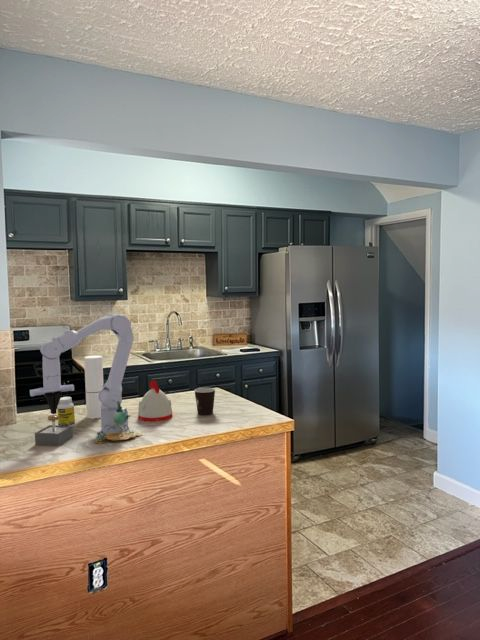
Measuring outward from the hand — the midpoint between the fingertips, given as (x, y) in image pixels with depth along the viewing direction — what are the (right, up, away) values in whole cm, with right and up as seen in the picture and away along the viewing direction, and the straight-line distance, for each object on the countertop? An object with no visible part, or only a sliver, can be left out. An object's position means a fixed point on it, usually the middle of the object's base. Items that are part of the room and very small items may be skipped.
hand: (53, 413), depth 172 cm
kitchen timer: (+31, -7, +29) cm, 43 cm away
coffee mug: (+51, -6, +34) cm, 62 cm away
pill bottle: (-2, -9, +18) cm, 20 cm away
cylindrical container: (+6, -7, +31) cm, 32 cm away
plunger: (0, -7, 0) cm, 7 cm away
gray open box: (0, -10, 0) cm, 10 cm away
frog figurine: (+22, -10, +3) cm, 24 cm away
